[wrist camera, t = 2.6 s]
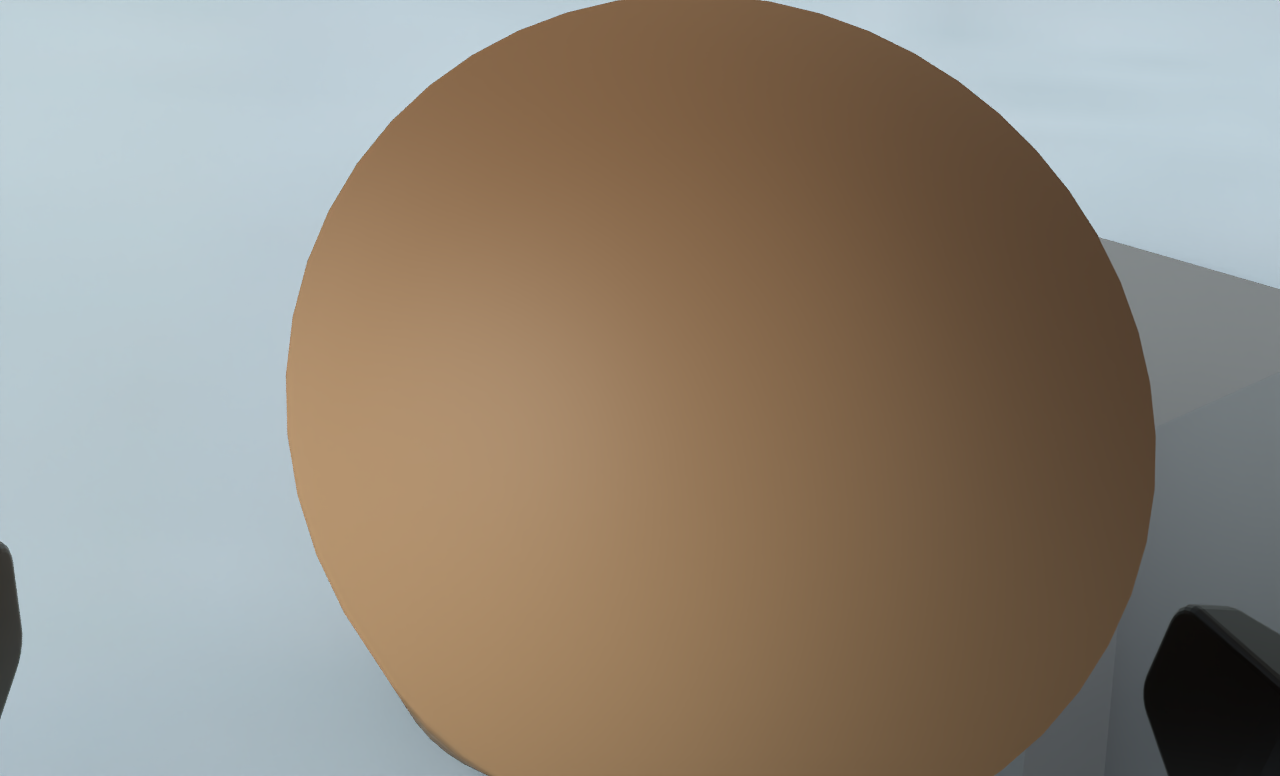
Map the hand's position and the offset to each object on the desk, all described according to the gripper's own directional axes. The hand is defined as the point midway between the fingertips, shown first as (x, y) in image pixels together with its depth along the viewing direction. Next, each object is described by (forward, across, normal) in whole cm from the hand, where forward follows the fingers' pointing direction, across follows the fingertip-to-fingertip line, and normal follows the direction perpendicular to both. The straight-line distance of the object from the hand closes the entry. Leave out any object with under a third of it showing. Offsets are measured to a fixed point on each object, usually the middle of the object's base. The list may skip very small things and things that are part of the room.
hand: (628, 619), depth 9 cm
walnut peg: (+6, 0, +5) cm, 8 cm away
